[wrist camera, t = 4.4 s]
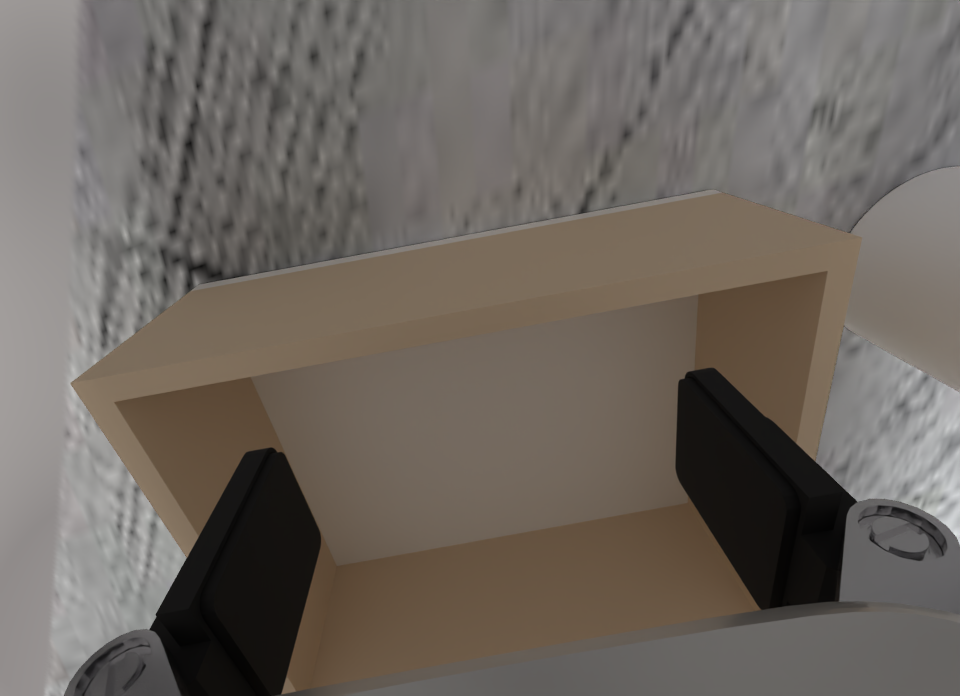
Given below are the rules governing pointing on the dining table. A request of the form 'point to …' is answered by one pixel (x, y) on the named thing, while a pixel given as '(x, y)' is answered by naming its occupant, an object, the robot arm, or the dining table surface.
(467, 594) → the mailer box
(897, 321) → the cup
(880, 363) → the dining table surface
